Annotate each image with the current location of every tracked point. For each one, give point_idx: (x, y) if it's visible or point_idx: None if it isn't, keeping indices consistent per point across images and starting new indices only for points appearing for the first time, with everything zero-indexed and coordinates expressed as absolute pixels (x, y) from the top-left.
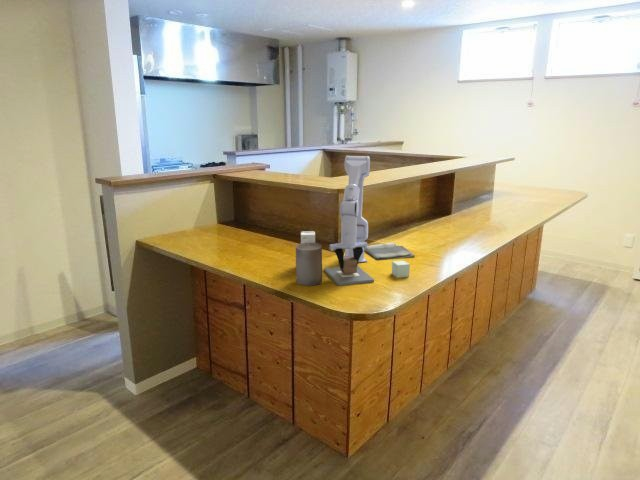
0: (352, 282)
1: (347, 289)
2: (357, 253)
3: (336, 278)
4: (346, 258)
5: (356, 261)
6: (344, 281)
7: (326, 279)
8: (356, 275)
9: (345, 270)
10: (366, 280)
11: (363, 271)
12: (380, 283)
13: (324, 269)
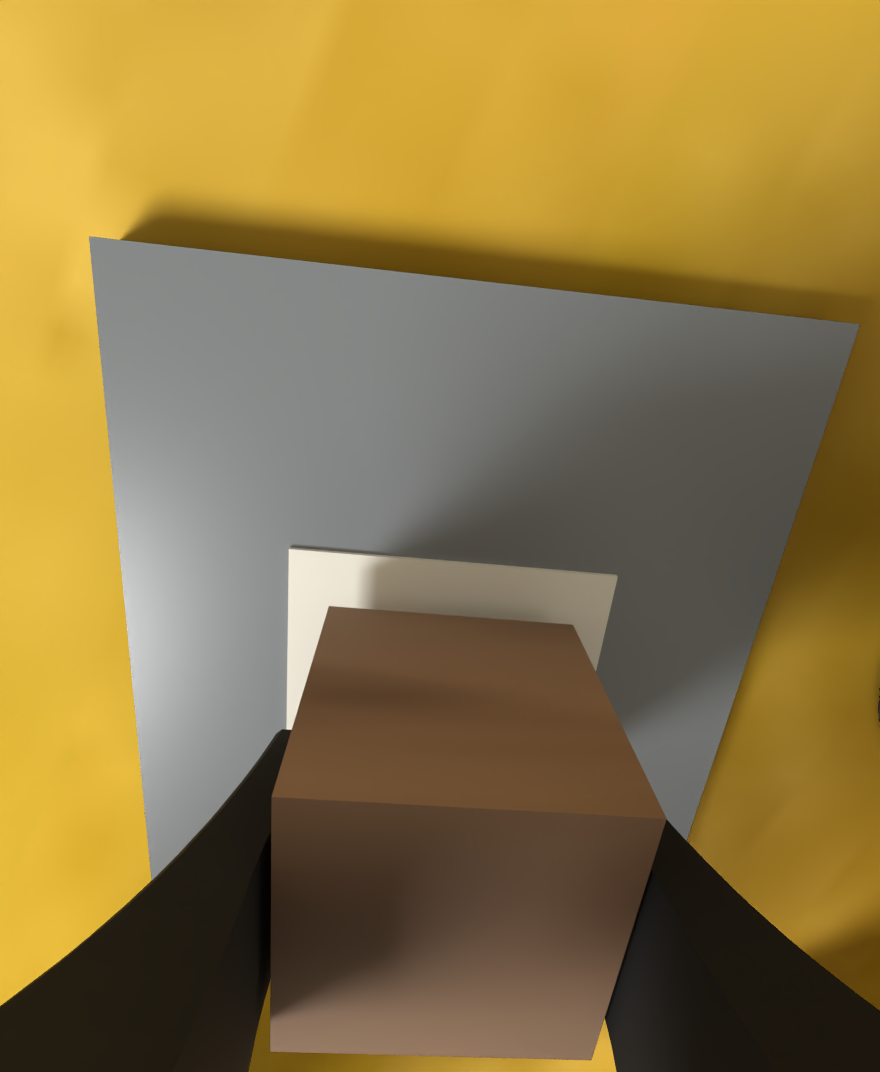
0: (564, 291)
1: (796, 36)
2: (170, 1058)
3: (736, 555)
4: (485, 981)
5: (295, 771)
6: (703, 357)
7: (802, 649)
8: (349, 565)
9: (564, 661)
10: (265, 259)
11: (151, 708)
12: (4, 113)
13: None
